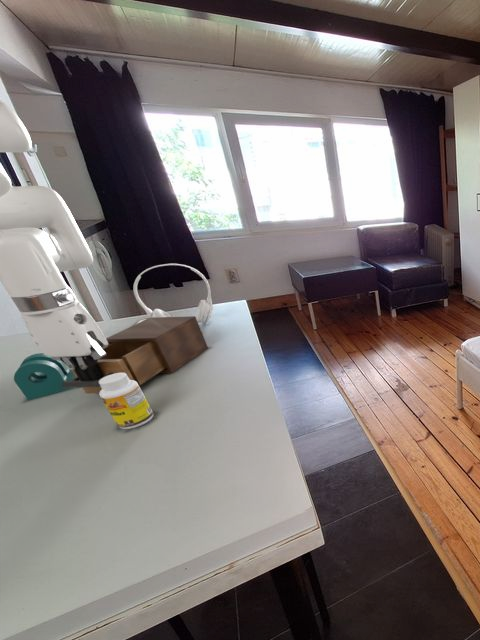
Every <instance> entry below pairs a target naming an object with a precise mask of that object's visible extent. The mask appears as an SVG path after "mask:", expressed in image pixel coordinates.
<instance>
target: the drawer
mask: <svg viewBox="0 0 480 640" xmlns="http://www.w3.org/2000/svg"><path fill="white" fill-rule="evenodd" d="M102 349H103V350H104V351H105V353H106V356H104V357H102V358H100V359H98V363H96V364H97V366H98V367H99V369H100V371H101V372H102V374H103V376H104V377H106V376H108V375H111V374H115V373H126V374H127V376H128V378H129V379H130V380H134V381H136V382H137V383H138V385H139V386H141V385H143V384H145V383H146V382H147V381H148V380H151V379H152V378H153V377H155V376H156V375H158V374H160V373H159V372H161V371H162V370H164V369H165V368H166V366H165V364H164V361H163V359H162V357H161V355H160V353H159V351H158V349H157V347H156V345H155V343H154V341H132V342H113V343H111V344H109V345H108V346H106V347H103V348H102ZM71 370H72V369H71ZM74 370H75V369H74ZM74 370H72V372H73V374H74V375H75V377H76V378H74V379H72V380H70V381H64V382H62V384H61V386H62V387H63V388H72V389H76V388H79V389H80V388H82V390H83V391H84V393H85V394H99V393H100V391H101V390H102V388H101V386H100V384H99V380H101V379H102V378H104V377H102V378H100V379H99V380H87V381H80V379H79V378H78V376H77V375H76V373H75V371H74Z"/></svg>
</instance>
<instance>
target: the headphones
mask: <svg viewBox="0 0 480 640" xmlns="http://www.w3.org/2000/svg"><path fill="white" fill-rule="evenodd" d="M165 266H180V267H185V268H188V269H190V271H192V272H194V273H196V274H197V275H198V276H199V277H200V278H201V279H202V280H203V282H204V283H205V286H206V289H207V297H206V299H201V300H200V301H199V303H198V306H197V308H196V312H195V317H196V320H197V322H198V324H204V325H205V324H208V323H209V322H210V320H211V318H212V315H213V312H214V311H213V310H214V306H213V300H212V294H211V287H210V284H209V281H208V279H207V278H206V277H205V275H204V274H203V273H202V272H200V271H199V270H198V269H196V268H194V267H192V266H189V265H186V264H181V263H164V264H157V265H154V266H151V267H149V268H146V269H145V270H143V271H142V272H140V273H139V274H138V275H137V277H136V278H135V279H134V282H133V295H134V298H135V299H136V301H137V303H138V305H140V307H142V309H143V310H144V311H145V314H146V315H147V316H148V318H156V317H173V316H172V315H170V314H169V313H168V312H166V311H164V310H162V309H160V308H154V309H153V310H152V309H150V308H149V307H147V305H146V304H145V303H144V302H143V300H142V299H141V298H140V295H139V292H138V284H139V281H140V280H141V278H142V275H143V274H145V273H147V272H148V271H150V270H152V269H155V268H159V267H165Z"/></svg>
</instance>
